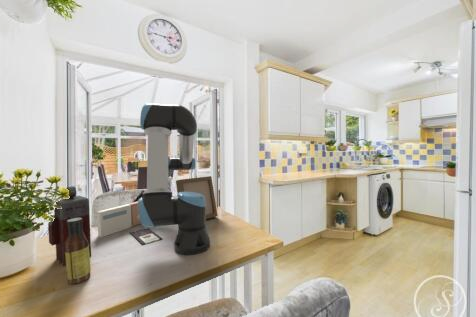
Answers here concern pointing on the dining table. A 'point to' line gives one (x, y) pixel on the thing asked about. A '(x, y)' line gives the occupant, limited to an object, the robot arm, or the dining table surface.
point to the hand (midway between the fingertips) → (133, 217)
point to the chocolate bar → (145, 236)
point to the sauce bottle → (77, 252)
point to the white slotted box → (114, 219)
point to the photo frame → (202, 187)
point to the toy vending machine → (59, 228)
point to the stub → (135, 213)
